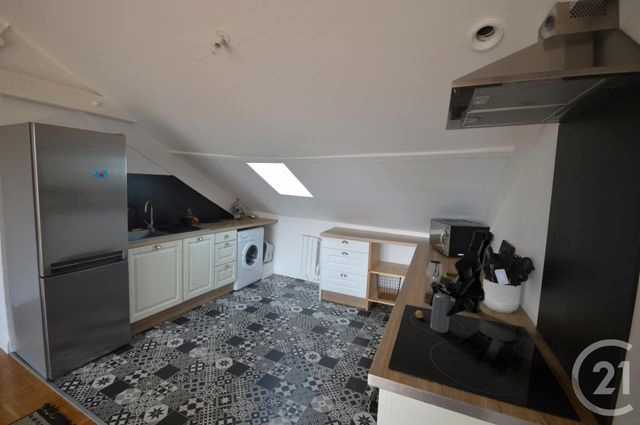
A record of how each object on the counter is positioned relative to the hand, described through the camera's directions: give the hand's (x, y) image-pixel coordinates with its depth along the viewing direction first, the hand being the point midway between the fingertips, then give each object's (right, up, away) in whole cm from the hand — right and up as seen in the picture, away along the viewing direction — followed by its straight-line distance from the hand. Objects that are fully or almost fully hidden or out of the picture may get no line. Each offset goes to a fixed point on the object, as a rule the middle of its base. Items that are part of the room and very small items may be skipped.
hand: (438, 310), depth 115 cm
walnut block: (+8, -5, +28) cm, 30 cm away
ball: (-4, -5, +10) cm, 12 cm away
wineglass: (+13, -5, +38) cm, 41 cm away
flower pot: (+27, -5, +46) cm, 53 cm away
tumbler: (+1, -8, +2) cm, 8 cm away
